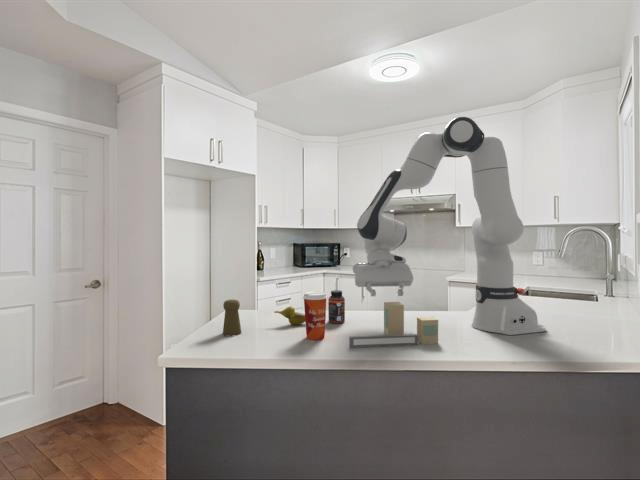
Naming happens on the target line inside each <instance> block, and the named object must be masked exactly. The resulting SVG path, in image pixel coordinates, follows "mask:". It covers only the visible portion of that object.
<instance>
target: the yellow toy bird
mask: <svg viewBox="0 0 640 480" xmlns="http://www.w3.org/2000/svg"><path fill="white" fill-rule="evenodd" d="M273 313H275V314H276V313H277V314H280V315H282V316H283V317H284V318H286V319H288V323H289V324H290V325H292V326H298V325H302V324H304V323H306V322H305V313H301V312H298V311H296V309H295V308H294V307H293V306H288V307H286V308H285V309H283V310H281V311H280V310H275V311H274V312H273Z"/></svg>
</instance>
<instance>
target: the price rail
mask: <svg viewBox="0 0 640 480" xmlns="http://www.w3.org/2000/svg"><path fill="white" fill-rule="evenodd" d="M348 338H349V339H348V341H349V348H350V349H353V348H354V349H355V348H357V349H358V348H378V347H379V346H380V347H381V346H385V347H406V346H405V345H411V346H418V345H419V341H418V335H417V333H404V334H398V335H386V334H378V335H376V334H375V335H371V334H370V335H352V336H351V335H350V336H349V337H348ZM380 347H379V348H380Z"/></svg>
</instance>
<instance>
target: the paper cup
mask: <svg viewBox="0 0 640 480" xmlns="http://www.w3.org/2000/svg"><path fill="white" fill-rule="evenodd" d="M302 299H303V304H304V305H303V306H304V307H303V308H304V314H305V322H304V323H305V333H306V339H308V340H311V341H320V340H324V339H325V334H326V315H327V314H326V312H327V299H328V296H327V293H326V292H324V291H318V290H317V291H307V292H304V294H303V296H302Z"/></svg>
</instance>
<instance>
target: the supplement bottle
mask: <svg viewBox="0 0 640 480" xmlns="http://www.w3.org/2000/svg"><path fill="white" fill-rule="evenodd" d="M330 295H331V296H329V297H328V303H327V304H328V308H327V309H328V322H329V323H331V324H343V323H344V322H345V321H346V320H345V319H346V309H345V305H346V303H345V301H346V298H345V297H344V296H343V291H342V290H337V289H336V290H335V289H334V290H331V292H330Z"/></svg>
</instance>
